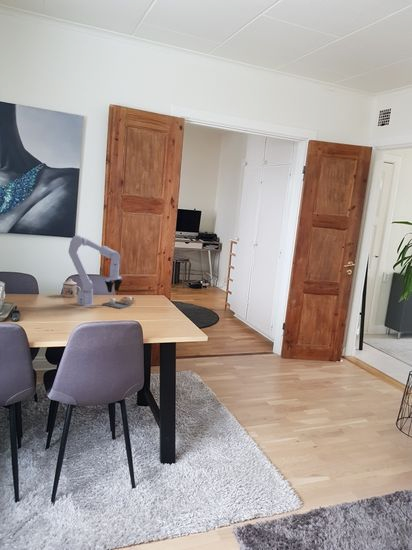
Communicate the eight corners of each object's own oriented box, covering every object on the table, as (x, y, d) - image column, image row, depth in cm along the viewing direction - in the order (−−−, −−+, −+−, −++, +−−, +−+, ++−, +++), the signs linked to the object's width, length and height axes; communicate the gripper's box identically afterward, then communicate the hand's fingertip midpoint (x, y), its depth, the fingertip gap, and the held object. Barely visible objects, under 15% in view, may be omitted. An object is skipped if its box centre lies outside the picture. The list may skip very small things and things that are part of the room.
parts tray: (120, 309, 263) (120, 307, 263) (102, 305, 268) (102, 303, 268) (131, 306, 274) (131, 304, 274) (113, 302, 279) (113, 300, 279)
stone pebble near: (112, 305, 270) (113, 299, 270) (108, 304, 272) (108, 298, 271) (116, 304, 274) (116, 298, 273) (111, 303, 275) (111, 297, 274)
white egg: (129, 303, 279) (130, 297, 278) (125, 302, 280) (125, 297, 280) (132, 303, 282) (133, 297, 282) (128, 302, 284) (128, 296, 283)
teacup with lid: (60, 296, 283) (61, 279, 281) (65, 294, 292) (66, 277, 290) (77, 298, 282) (78, 281, 281) (82, 296, 291) (83, 279, 290)
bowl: (130, 305, 277) (130, 300, 276) (117, 303, 280) (117, 298, 280) (138, 303, 286) (138, 298, 286) (125, 300, 290) (126, 296, 289)
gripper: (113, 272, 261) (111, 293, 263) (126, 270, 275) (124, 290, 277) (103, 270, 264) (102, 292, 266) (117, 269, 277) (115, 289, 279)
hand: (113, 291), depth 271 cm, fingers open, 7 cm apart
